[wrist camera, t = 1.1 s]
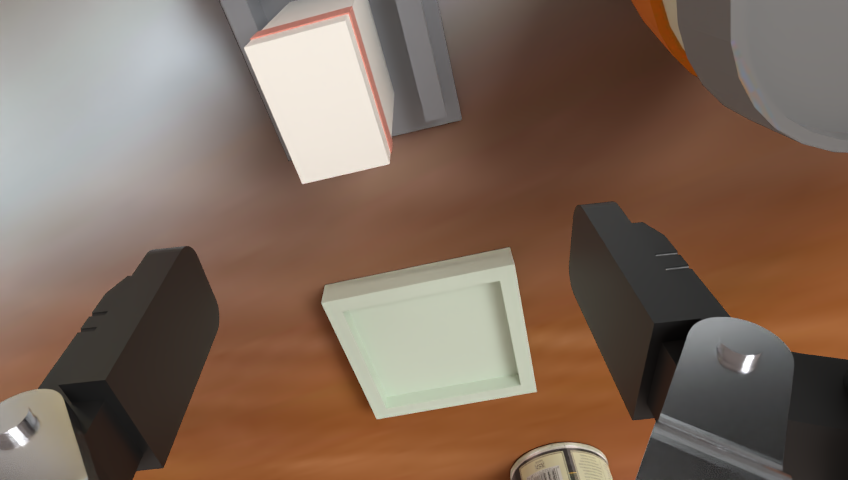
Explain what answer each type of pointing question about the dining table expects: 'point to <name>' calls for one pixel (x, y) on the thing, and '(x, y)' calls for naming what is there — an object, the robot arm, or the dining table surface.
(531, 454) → the coffee can
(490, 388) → the tray
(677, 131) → the dining table surface
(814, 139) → the reusable coffee cup
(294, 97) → the white banded brick
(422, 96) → the grey holder
